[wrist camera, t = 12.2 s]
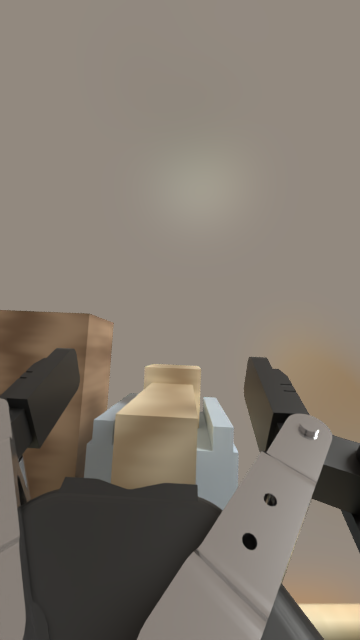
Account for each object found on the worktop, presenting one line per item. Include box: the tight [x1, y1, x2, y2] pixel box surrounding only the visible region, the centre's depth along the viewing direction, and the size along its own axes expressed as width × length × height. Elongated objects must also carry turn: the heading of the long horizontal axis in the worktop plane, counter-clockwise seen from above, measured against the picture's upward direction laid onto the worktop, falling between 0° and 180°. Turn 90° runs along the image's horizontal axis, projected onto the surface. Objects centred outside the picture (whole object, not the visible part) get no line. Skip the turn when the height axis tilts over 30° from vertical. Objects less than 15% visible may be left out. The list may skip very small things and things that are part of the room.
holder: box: [84, 393, 238, 510], centre depth 19 cm, size 9×10×25 cm
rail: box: [111, 364, 201, 489], centre depth 17 cm, size 4×15×4 cm, turn 178°
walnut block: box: [0, 310, 114, 500], centre depth 23 cm, size 10×7×32 cm
